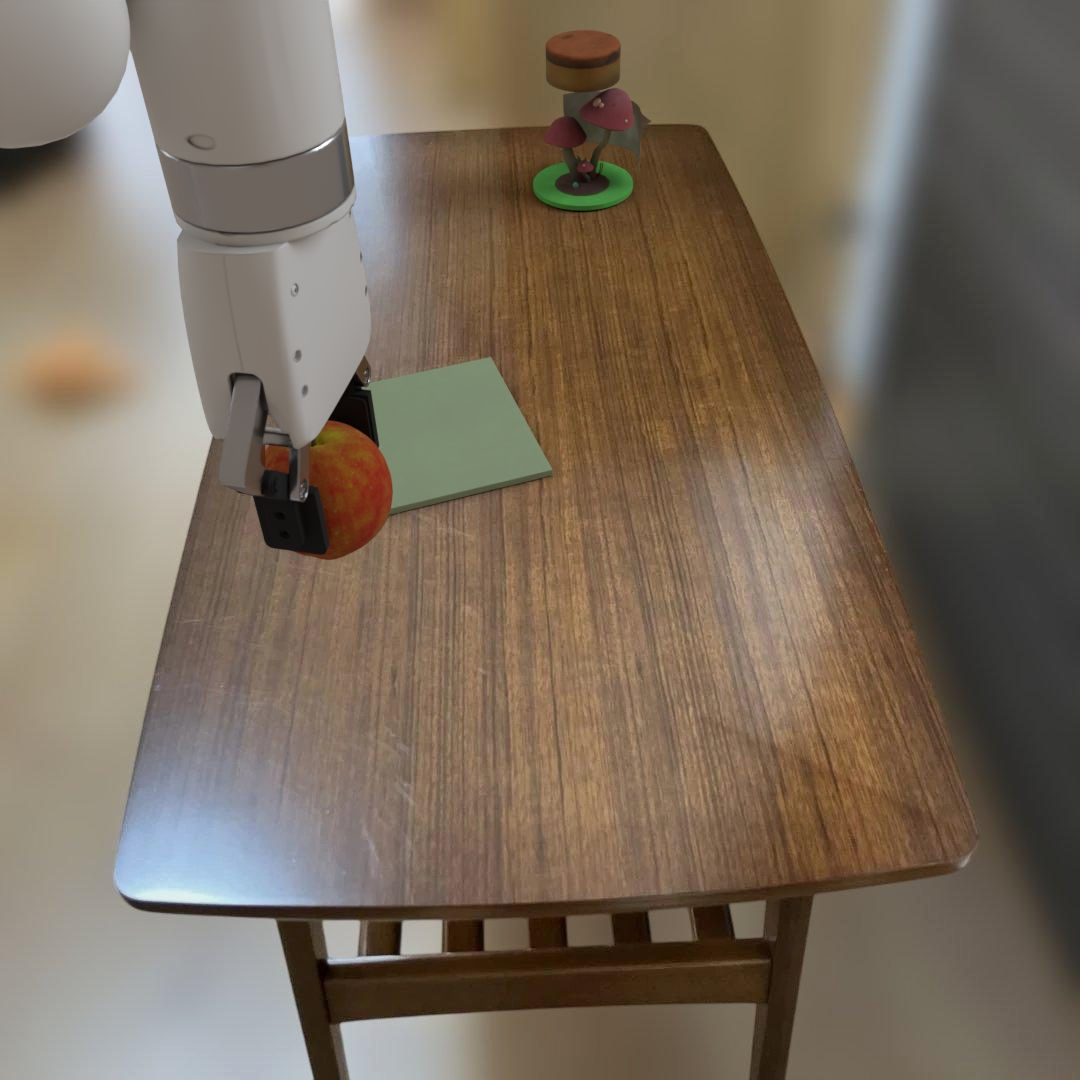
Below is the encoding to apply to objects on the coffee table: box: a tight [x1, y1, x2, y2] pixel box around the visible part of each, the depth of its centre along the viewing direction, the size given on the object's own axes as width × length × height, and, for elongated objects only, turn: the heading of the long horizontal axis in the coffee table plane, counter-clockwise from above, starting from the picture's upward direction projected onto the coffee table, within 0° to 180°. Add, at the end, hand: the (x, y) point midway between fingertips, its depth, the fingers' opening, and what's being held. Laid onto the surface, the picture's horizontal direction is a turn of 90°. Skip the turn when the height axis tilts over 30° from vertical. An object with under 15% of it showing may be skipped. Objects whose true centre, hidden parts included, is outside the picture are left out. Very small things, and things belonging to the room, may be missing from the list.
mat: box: [362, 356, 553, 516], centre depth 88 cm, size 18×16×1 cm
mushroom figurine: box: [532, 29, 652, 212], centre depth 114 cm, size 12×13×15 cm
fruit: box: [265, 421, 393, 561], centre depth 57 cm, size 7×7×8 cm
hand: (325, 494), depth 58 cm, fingers closed on fruit, 7 cm apart
